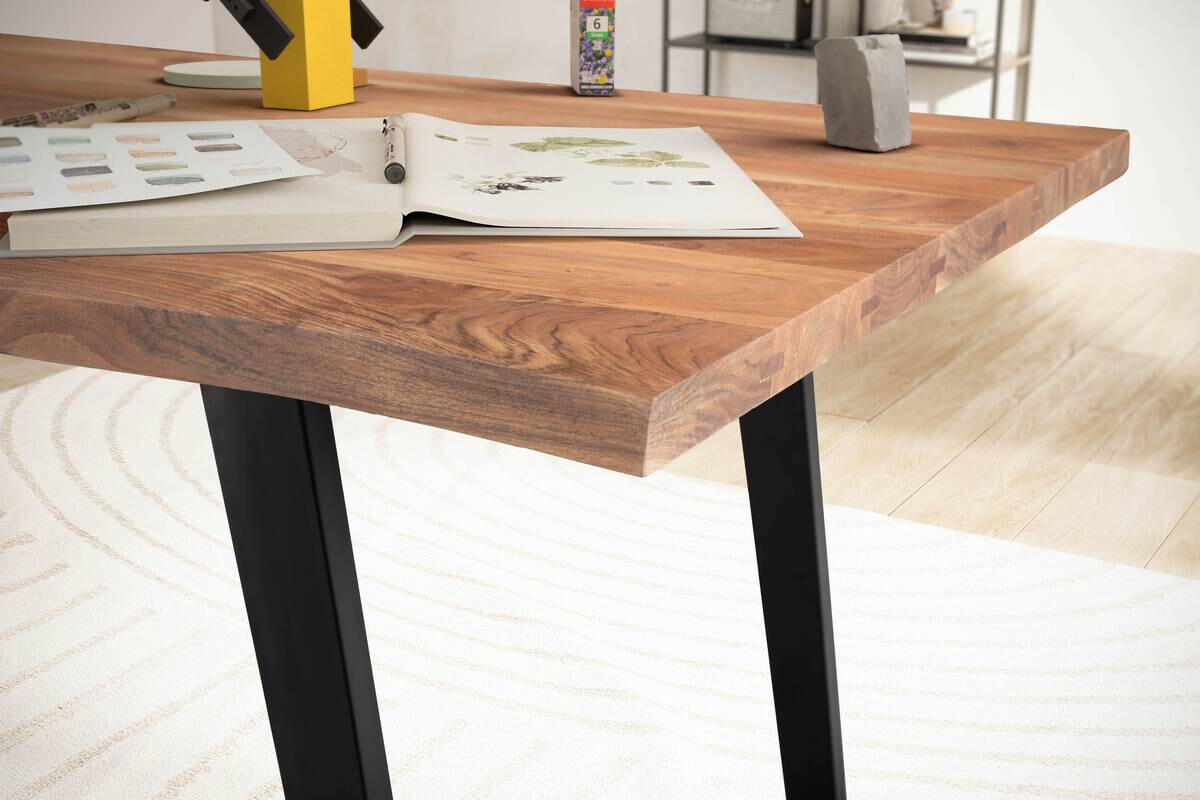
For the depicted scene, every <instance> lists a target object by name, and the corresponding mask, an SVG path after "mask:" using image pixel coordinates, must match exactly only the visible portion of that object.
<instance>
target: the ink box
mask: <svg viewBox="0 0 1200 800" xmlns="http://www.w3.org/2000/svg"><path fill="white" fill-rule="evenodd" d="M569 34H570V35H569V48H570V49H569V51H570V52H569V70H570V71H569V72H570V73H569V74H570V76H569V78H570V86H571V88H572V89H573V91H575V92H576V94H578V95H579V96H614V95H615V52H616V51H615V50H616V49H615V46H616V45H615V44H616V43H615V42H616V0H569ZM572 86H574V87H572Z"/></svg>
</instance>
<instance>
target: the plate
mask: <svg viewBox="0 0 1200 800" xmlns="http://www.w3.org/2000/svg"><path fill="white" fill-rule="evenodd" d="M162 75H163V81H164V83H167V84H169V85H174V86H181V87H188V88H203V89H204V88H205V89H228V90H229V89H231V90H232V89H233V90H235V89H237V90H247V89H249V90H251V89H253V90H254V89H255V90H256V89H257V90H258V89H261V90H262V82H261V67H260V60H257V59H256V60H253V59H252V60H251V59H250V60H211V61H209V60H208V61H195V62H184V63H176V64H169V65H166V66H165V67H163V68H162Z"/></svg>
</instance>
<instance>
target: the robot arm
mask: <svg viewBox="0 0 1200 800" xmlns="http://www.w3.org/2000/svg"><path fill="white" fill-rule="evenodd" d="M202 1H203V2H206V3H208V2H210V0H202ZM219 2H220V3H221V4H222V5H223V6H224V8H225V9H226V10H227V11H228V12H229V14H230V15H231V16H232V17H233V18H234V20H235V21H236V22H237V23H238V24H239V25H240V27H241V28H242V29H243V30H244V32H245V33H246V34H247V35H248V36H249V37H250V39H251V40H252V41H253V42H254V43H255V44H256V45H257V47H258V49H259V48H260V49H261V50H262V51H263V53H264V54H265V55H266V56H267V57H268V58H269V60H270V61H271V60H276V59H277V58H278V57H279V55H280V54H281V53H282V52H283V50H284V49H285V48H286V47H287V45H288V44H289V43H290V42H291V40H292V39H293V38H294V36H295V35H294V34H293V33H292V31H291V30H290V29H289V28H288V27H287V25H286V24H285V23H284V22H283V21H282V20H281V18H280V17H279V16H278V15H277V14H276V12H275V11H274V10H273V9H272V8H271V7H270V5H269V4H268V3H267V2H266V1H265V0H219ZM349 2H350V24H351V40H353V41H354V42H355V43H356V45H357V46H358V47H359V48H360V50H361V51H362V50H367V49H368V47H369V46H370V45H372V43H373V42H374V41H375V39H376V38H377V37H378V36H379V35H380V34H381V33H382V31H383V30H384V29H385V26H384V25H383V24H382V22H380V20H379V19H378V18H377V17H376V16H375V14H374V13H373V12H372V11H371V10H370V9H369V7H368V6H367V5H366V4H365V2H364V1H363V0H349Z"/></svg>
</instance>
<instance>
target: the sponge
mask: <svg viewBox="0 0 1200 800" xmlns="http://www.w3.org/2000/svg"><path fill="white" fill-rule="evenodd" d="M265 1H266V2H267V3H268V4H269V5H270V7H271V8H272V9H273V10H274V11H275V12H276V14H277V15H278V16H279V17H280V18H281V20H282V21H283V22H284V23H285V24H286V25H287V27H288V28H289V29H290V30H291V31H292V33H293V34H294V35H295V36H294V38H293V39H292V40H291V42H290V43H289V44H288V45H287V47H286V48H285V49H284V50H283V52H282V53H281V54H280V55H279V57H278V58H277V59H276V60H271V61H270V60H269V58H268V57H267V56H266V55H265V54H264V53H263V51H262V50H261V49H260V48H259V47H258V51H259V61H260V67H261V82H262V88H261V94H262V95H261V96H262V107H263V108H265V109H278V110H279V109H281V110H294V111H308V112H309V111H315V110H320V109H326V108H330V107H331V108H332V107H335V106H341V105H346V104H351V103H355V93H354V87H353V68H354V67H353V50H352V47H353V46H352V38H351V24H350V2H349V0H265Z"/></svg>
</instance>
